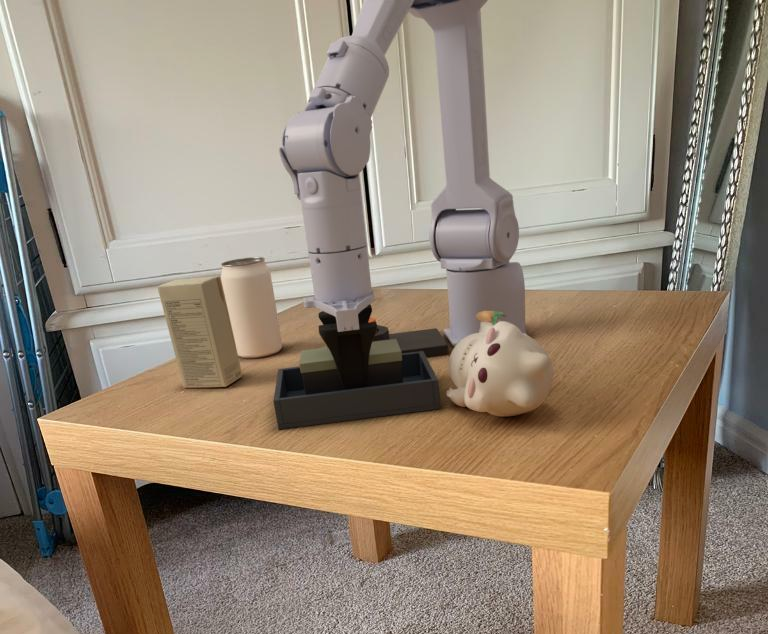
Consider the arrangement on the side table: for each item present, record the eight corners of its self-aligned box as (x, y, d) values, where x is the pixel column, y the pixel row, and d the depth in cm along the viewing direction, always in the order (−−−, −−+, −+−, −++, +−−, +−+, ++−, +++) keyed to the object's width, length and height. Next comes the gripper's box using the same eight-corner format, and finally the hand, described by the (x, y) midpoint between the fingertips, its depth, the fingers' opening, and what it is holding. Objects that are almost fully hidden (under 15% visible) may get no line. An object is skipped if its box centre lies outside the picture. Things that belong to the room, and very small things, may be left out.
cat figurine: (452, 299, 75) (526, 305, 62) (517, 329, 79) (600, 341, 65) (417, 389, 77) (481, 414, 63) (481, 414, 80) (555, 444, 67)
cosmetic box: (244, 377, 92) (224, 274, 87) (226, 388, 89) (204, 282, 83) (199, 377, 94) (176, 277, 89) (180, 388, 91) (155, 284, 85)
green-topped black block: (400, 384, 82) (396, 338, 80) (405, 398, 77) (401, 351, 75) (307, 395, 82) (300, 350, 79) (306, 411, 77) (299, 363, 75)
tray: (425, 376, 85) (423, 350, 83) (440, 409, 75) (438, 379, 73) (282, 394, 84) (278, 368, 83) (278, 429, 74) (273, 400, 73)
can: (274, 358, 99) (257, 263, 93) (228, 360, 100) (209, 267, 95) (289, 344, 104) (274, 254, 99) (245, 347, 106) (229, 258, 101)
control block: (437, 336, 100) (436, 314, 99) (448, 354, 92) (446, 330, 91) (338, 349, 100) (335, 326, 98) (340, 367, 92) (337, 343, 90)
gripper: (297, 244, 79) (316, 369, 85) (294, 264, 66) (316, 411, 72) (364, 236, 79) (378, 362, 85) (374, 255, 66) (389, 402, 72)
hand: (354, 384), depth 79 cm, fingers closed on green-topped black block, 5 cm apart
